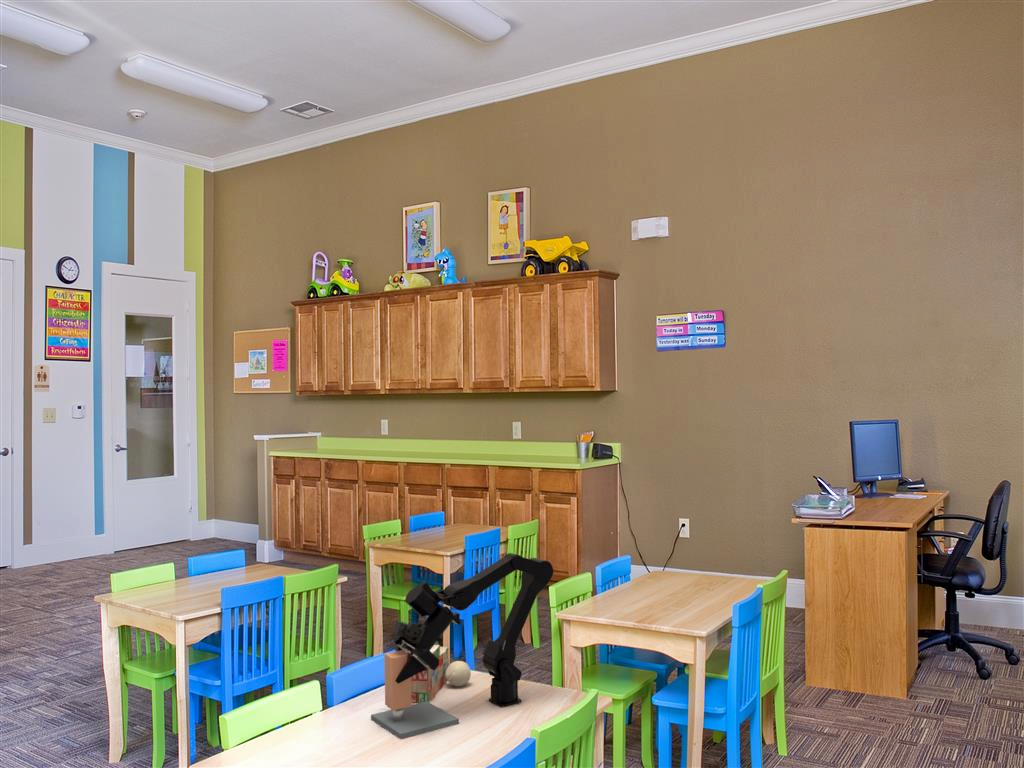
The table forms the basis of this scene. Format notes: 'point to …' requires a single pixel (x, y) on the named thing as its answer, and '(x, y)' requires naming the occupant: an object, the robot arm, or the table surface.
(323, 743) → the table surface
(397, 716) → the steel post
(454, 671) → the baseball
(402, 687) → the tall peach square pillar
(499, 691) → the robot arm
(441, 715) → the slate board
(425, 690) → the stack of blocks
